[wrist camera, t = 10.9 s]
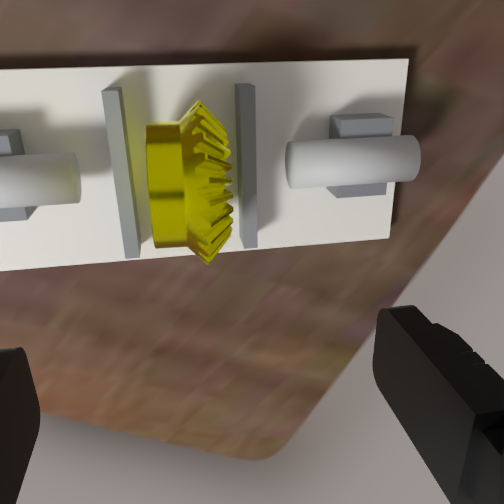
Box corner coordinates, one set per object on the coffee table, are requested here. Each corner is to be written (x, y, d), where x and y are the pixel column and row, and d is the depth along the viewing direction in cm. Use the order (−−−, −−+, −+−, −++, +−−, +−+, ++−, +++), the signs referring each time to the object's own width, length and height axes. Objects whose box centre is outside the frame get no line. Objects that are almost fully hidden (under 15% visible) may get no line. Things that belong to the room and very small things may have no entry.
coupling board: (-24, 264, 28) (-55, 301, 24) (-80, 71, 24) (-131, 76, 20) (381, 231, 32) (412, 258, 28) (399, 58, 27) (439, 60, 23)
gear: (147, 93, 25) (139, 113, 18) (216, 92, 25) (236, 111, 18) (158, 232, 28) (156, 297, 21) (220, 228, 29) (238, 290, 21)
